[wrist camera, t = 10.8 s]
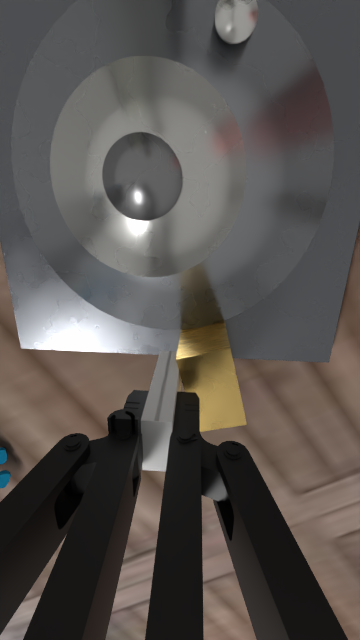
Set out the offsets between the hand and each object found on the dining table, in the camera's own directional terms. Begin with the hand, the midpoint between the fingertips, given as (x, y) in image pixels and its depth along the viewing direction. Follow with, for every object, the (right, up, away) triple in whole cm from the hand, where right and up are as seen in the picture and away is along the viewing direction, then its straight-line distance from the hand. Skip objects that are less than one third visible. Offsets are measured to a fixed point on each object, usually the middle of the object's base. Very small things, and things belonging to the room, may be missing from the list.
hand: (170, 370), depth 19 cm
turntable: (+1, +9, 0) cm, 9 cm away
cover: (0, +11, -2) cm, 11 cm away
